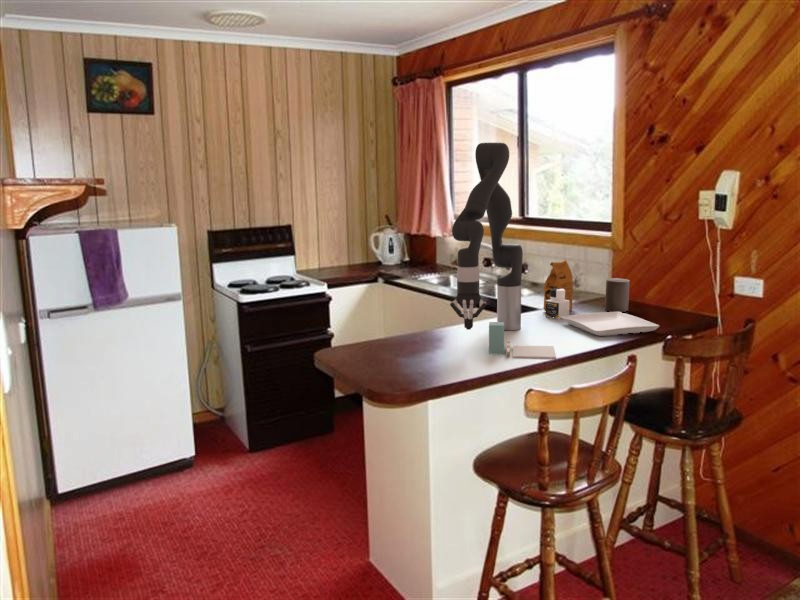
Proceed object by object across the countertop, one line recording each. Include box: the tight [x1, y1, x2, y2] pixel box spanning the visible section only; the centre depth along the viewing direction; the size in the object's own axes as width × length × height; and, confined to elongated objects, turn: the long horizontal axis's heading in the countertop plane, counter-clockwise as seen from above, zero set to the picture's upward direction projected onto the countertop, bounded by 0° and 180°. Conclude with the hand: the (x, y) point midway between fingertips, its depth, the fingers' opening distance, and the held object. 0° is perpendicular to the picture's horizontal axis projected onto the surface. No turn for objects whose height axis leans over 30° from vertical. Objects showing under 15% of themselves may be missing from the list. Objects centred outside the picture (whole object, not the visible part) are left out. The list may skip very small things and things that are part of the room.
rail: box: [506, 341, 511, 359], centre depth 230 cm, size 14×1×2 cm, turn 171°
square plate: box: [561, 311, 660, 337], centre depth 260 cm, size 27×27×4 cm
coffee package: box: [543, 259, 574, 312], centre depth 292 cm, size 10×12×22 cm
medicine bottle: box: [545, 288, 570, 319], centre depth 281 cm, size 7×7×12 cm
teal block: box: [488, 321, 505, 355], centre depth 229 cm, size 5×5×10 cm
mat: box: [512, 344, 557, 360], centre depth 228 cm, size 14×14×1 cm
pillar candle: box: [604, 276, 631, 313], centre depth 290 cm, size 10×10×15 cm
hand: (468, 329), depth 231 cm, fingers closed
